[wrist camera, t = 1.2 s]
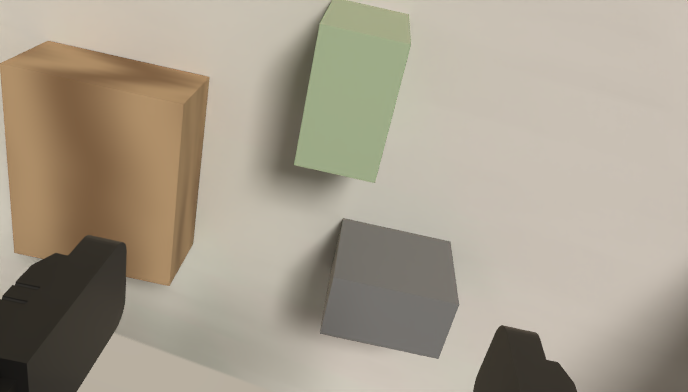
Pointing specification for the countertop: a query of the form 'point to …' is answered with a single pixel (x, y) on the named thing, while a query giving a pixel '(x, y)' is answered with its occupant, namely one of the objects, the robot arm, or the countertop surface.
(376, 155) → the sage brick
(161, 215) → the oak block
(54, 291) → the robot arm
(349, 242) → the charcoal brick
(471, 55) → the countertop surface
